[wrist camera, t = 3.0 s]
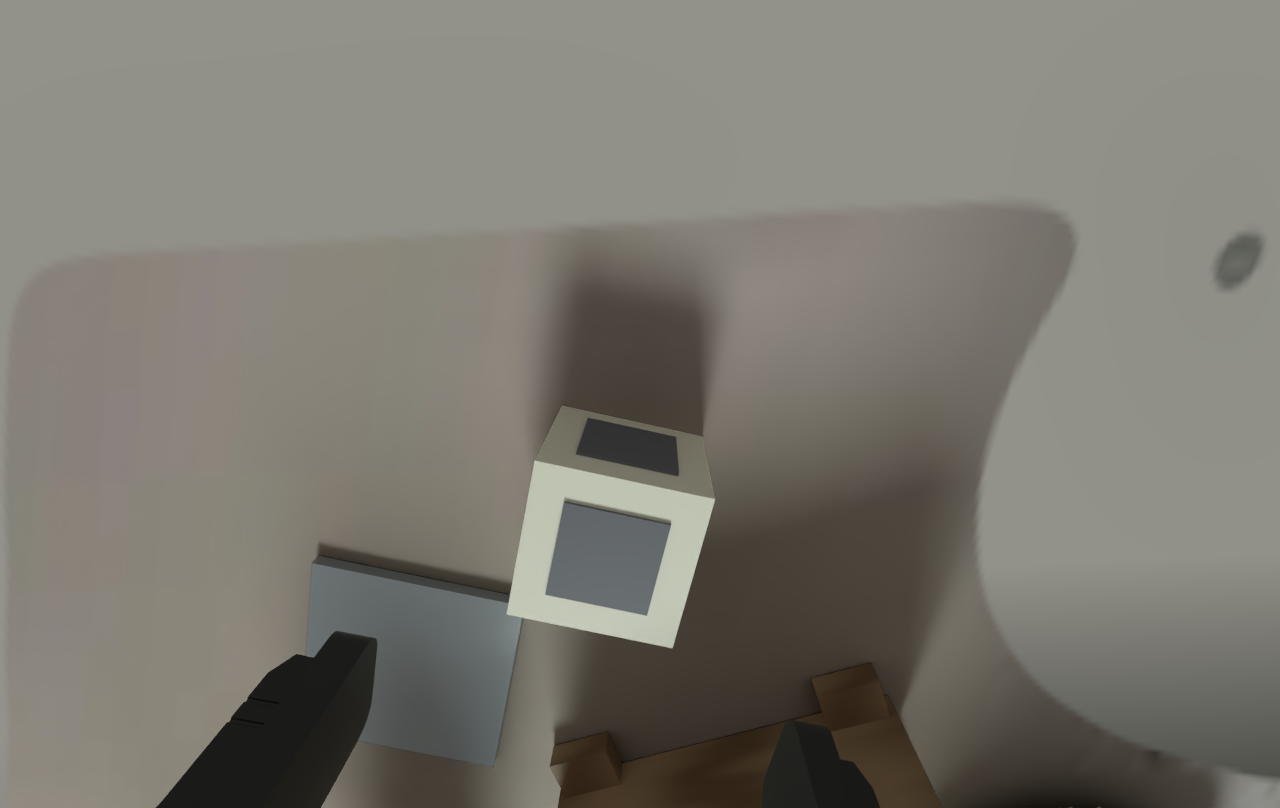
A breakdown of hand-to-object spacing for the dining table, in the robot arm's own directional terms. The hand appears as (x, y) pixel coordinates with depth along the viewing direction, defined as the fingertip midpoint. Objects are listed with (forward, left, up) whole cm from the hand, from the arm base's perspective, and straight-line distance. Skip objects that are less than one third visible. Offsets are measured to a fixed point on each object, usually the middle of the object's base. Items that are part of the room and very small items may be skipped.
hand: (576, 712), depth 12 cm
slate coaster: (+3, +11, -11) cm, 16 cm away
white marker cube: (0, 0, -11) cm, 11 cm away
